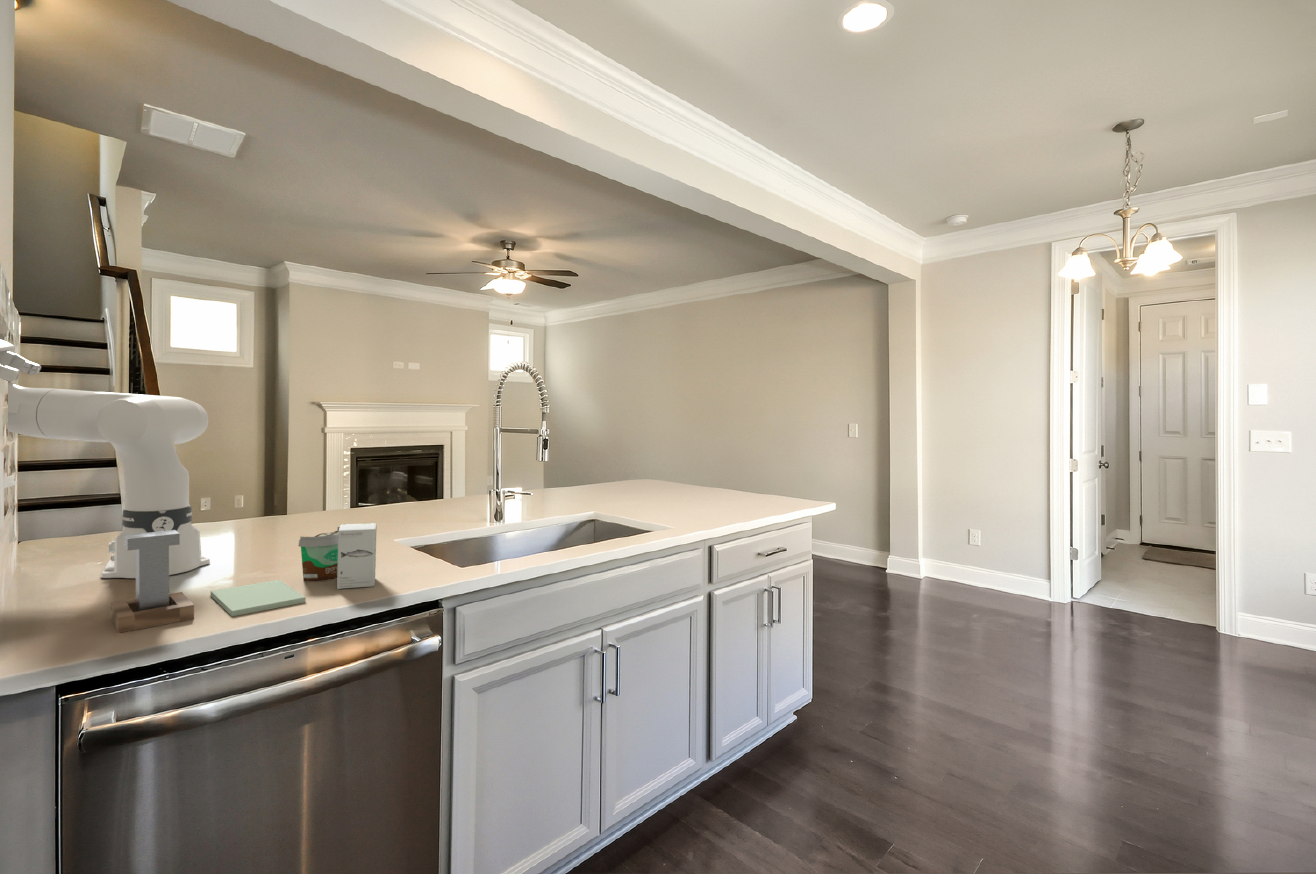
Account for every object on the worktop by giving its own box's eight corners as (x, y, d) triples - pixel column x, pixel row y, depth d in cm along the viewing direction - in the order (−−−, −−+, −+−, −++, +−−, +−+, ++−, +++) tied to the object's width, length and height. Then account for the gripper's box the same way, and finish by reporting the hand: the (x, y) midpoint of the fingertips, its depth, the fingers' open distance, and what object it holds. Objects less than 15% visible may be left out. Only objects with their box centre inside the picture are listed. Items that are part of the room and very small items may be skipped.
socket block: (110, 617, 107) (110, 603, 106) (182, 605, 114) (182, 591, 114) (118, 632, 100) (118, 618, 100) (194, 618, 107) (193, 604, 107)
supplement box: (336, 590, 126) (336, 530, 125) (339, 580, 133) (339, 523, 132) (375, 587, 129) (376, 528, 128) (376, 577, 136) (377, 522, 135)
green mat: (210, 595, 120) (210, 590, 120) (279, 584, 129) (279, 579, 128) (232, 616, 109) (232, 611, 109) (305, 602, 118) (305, 597, 118)
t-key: (124, 619, 106) (124, 534, 105) (175, 610, 111) (174, 529, 110) (128, 626, 103) (127, 538, 102) (179, 616, 108) (179, 533, 107)
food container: (322, 585, 129) (323, 539, 128) (298, 583, 130) (298, 537, 129) (362, 570, 141) (362, 528, 140) (339, 568, 142) (339, 526, 141)
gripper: (-74, 344, 95) (39, 384, 103) (-151, 352, 78) (-9, 400, 86) (-52, 309, 96) (58, 351, 103) (-124, 310, 79) (15, 360, 86)
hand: (28, 373), depth 95 cm, fingers open, 8 cm apart
